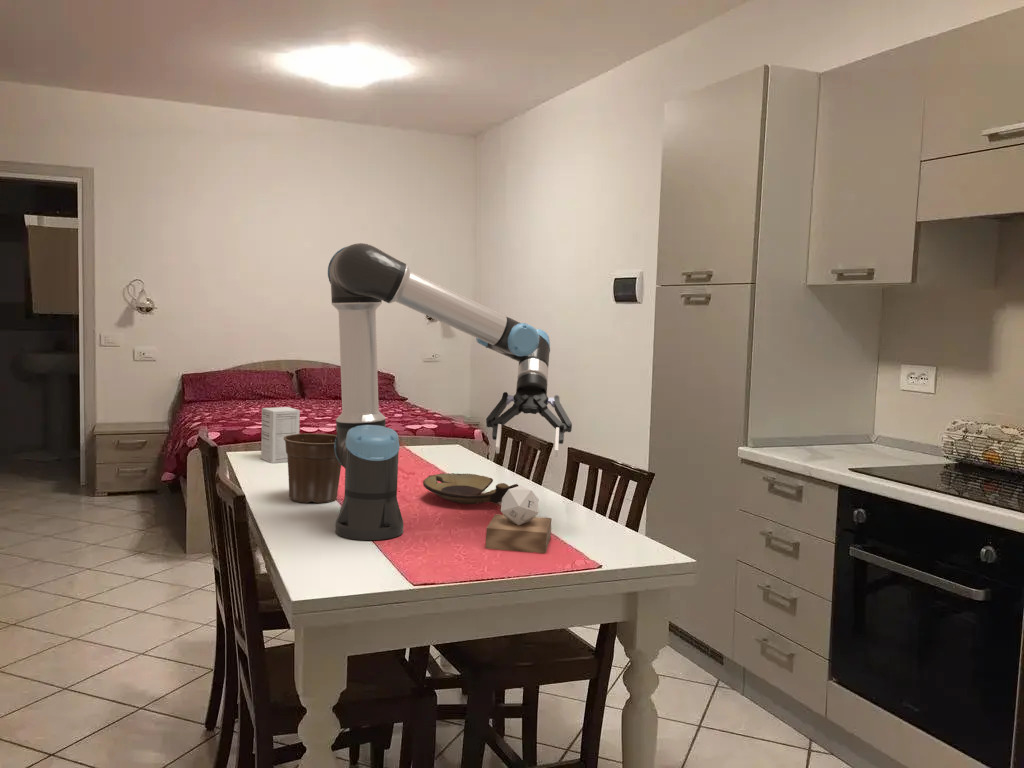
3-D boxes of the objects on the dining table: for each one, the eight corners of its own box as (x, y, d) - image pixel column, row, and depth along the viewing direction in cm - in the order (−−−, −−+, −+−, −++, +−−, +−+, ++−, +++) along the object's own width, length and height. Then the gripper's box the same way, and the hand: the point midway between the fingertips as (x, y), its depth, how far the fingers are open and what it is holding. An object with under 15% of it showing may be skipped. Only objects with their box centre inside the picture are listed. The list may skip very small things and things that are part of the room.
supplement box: (287, 456, 274) (289, 406, 272) (299, 461, 266) (301, 409, 265) (259, 458, 267) (261, 407, 266) (271, 463, 260) (272, 410, 259)
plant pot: (358, 497, 219) (360, 437, 218) (319, 508, 204) (321, 444, 203) (309, 489, 226) (310, 431, 224) (268, 500, 211) (270, 437, 210)
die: (496, 528, 179) (520, 498, 175) (489, 501, 186) (512, 471, 182) (527, 538, 183) (551, 508, 179) (519, 511, 190) (541, 482, 186)
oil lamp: (482, 489, 238) (483, 462, 237) (532, 513, 211) (533, 483, 211) (409, 493, 228) (410, 465, 227) (452, 519, 201) (453, 488, 200)
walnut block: (485, 550, 177) (486, 528, 176) (494, 535, 190) (495, 514, 189) (545, 555, 175) (546, 532, 175) (550, 539, 188) (551, 518, 188)
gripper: (581, 394, 205) (580, 464, 191) (482, 388, 206) (473, 457, 193) (583, 374, 199) (582, 445, 186) (481, 368, 201) (472, 438, 187)
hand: (526, 451), depth 189 cm, fingers open, 13 cm apart
